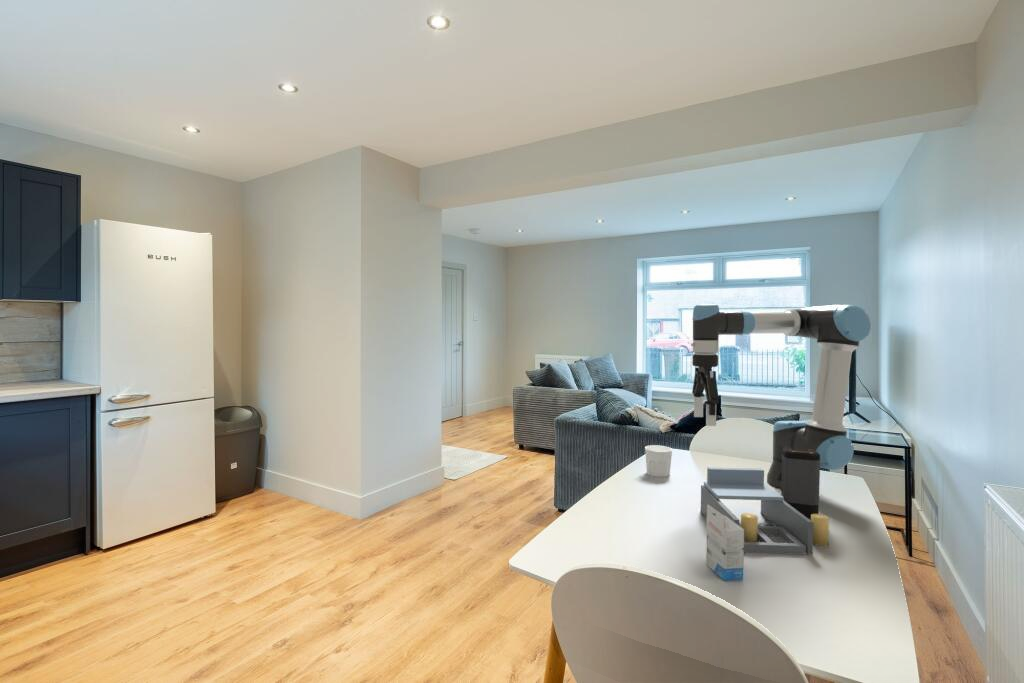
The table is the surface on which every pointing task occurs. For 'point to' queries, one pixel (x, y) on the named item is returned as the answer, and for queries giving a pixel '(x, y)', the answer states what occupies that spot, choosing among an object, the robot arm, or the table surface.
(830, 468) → the robot arm
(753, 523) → the peg
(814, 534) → the cylinder
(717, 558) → the ink box
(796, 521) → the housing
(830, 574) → the table surface
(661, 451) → the cup
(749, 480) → the lid
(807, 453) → the electronic device
